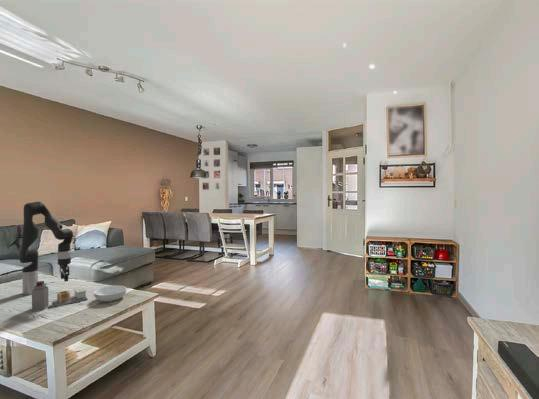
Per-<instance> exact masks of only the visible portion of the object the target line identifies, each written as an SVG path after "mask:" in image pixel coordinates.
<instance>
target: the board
mask: <svg viewBox="0 0 539 399" xmlns="http://www.w3.org/2000/svg"><path fill="white" fill-rule="evenodd" d="M87 300H88V297H87V296H86V297H84V298H80V299H77V298H76V297H75V295H72V296H71V295H70V301H67V302H62V303H59V302H58V301H57V299H54V300H52V303H53V304H54V306H55V307H56V308H58V307H63V306H67V305H71V304H75V303H79V302H84V301H87Z"/></svg>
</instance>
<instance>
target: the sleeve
mask: <svg viewBox="0 0 539 399" xmlns="http://www.w3.org/2000/svg"><path fill="white" fill-rule="evenodd" d="M56 294H57V296H56V297H57V299H56V300H57V301H58V302H59V303H62V302H67V301H70V297H71V293H70V291H69V290H68V289H67V290H63V291H59V292H56Z"/></svg>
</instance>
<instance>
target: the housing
mask: <svg viewBox="0 0 539 399" xmlns="http://www.w3.org/2000/svg"><path fill="white" fill-rule="evenodd" d="M73 292H74V296H75V297H76V298H77V299H80V298H84V297H87V295H86V294H87V290H86V289H85V288H84V287H81V288H76V289H74V290H73Z"/></svg>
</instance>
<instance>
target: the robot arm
mask: <svg viewBox="0 0 539 399" xmlns="http://www.w3.org/2000/svg"><path fill="white" fill-rule="evenodd" d="M36 215H43V217H44V224H45V226H46V227H47V229H49V230H50V231H51V232H52V235H53V236H54V238H55V239H57V240H59V241H60V240H61V241H62V240H63V241H62V242H60V243H58V244H57V265H59V273H60V280H63V279H64V280H63V281H64V282H68V281H69V276H70V266H68V265H69V264H71V263H72V256H71V255H72V253H71V243H72V240H73V237H74V232H73V230H72V229H71V228H64V229H63V224H62V223H61V222H59V221H58V220H57V219H56V218H55V217H54V215H53V214H52V212H50V210H49V209H48V207H47V206H46V205H45V203H43V202H42V201H34V202H28V203H25V204H24V205H23V225H22V226H23V228H22V232H21V233H22V234H21V247H20V252H19V262H20V263H21V264H28V263H30V264H29V265H26V266H24V267H23V268H22V270H21V271H22V272H21V273H22V278H21V279H22V286H21V287H22V295H24V296H29V295H32V290H33V289H34V286H35V285H36V283H37V282H38V281H39V250H37V249H31V250H30V249H29V248H30V247H31V246H32V245H33V243H35V242H36V241H37V240H38V239H39V232H40V228H39V227H38V225H37V224H35V222H34V221H33V217H34V216H36Z"/></svg>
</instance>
